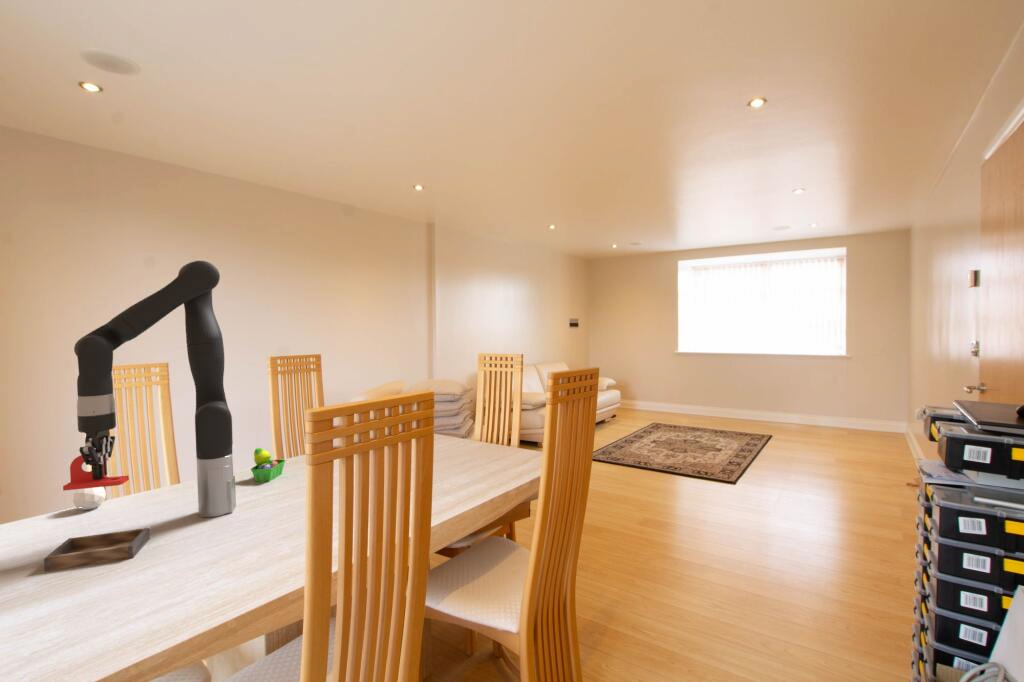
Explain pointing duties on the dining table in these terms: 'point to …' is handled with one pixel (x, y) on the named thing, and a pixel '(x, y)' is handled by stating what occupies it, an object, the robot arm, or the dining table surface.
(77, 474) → the bracket
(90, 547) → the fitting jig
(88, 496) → the geometric ball
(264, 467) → the fruit basket
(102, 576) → the dining table surface
